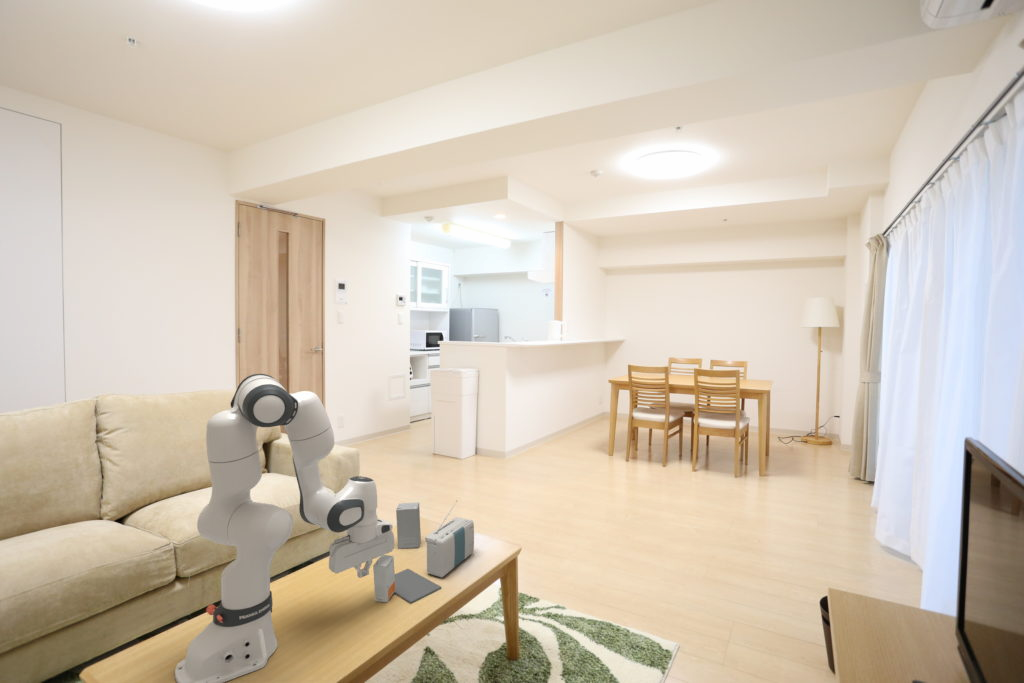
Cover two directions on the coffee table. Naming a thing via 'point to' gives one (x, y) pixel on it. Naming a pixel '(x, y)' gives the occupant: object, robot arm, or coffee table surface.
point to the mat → (413, 586)
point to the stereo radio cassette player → (449, 545)
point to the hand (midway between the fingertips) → (363, 575)
